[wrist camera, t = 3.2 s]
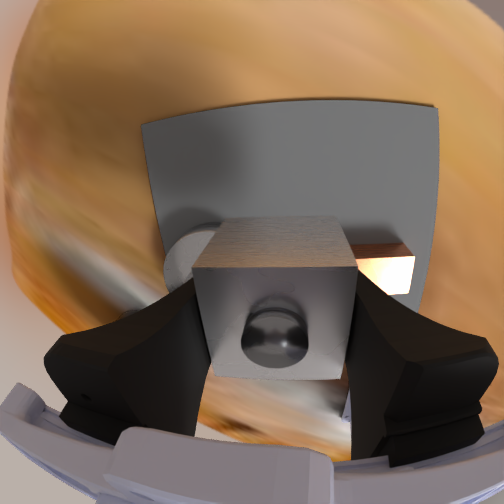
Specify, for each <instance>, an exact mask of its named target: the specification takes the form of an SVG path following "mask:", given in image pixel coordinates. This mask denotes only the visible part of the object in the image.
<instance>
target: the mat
mask: <svg viewBox="0 0 504 504" xmlns="http://www.w3.org/2000/svg"><path fill="white" fill-rule="evenodd" d="M141 129H142V136H143V143H144V149H145V156H146V162H147V168H148V174H149V179H150V185H151V190H152V195H153V200H154V205H155V210H156V215H157V220H158V224H159V229H160V233H161V238H162V242H163V246H164V250H165V254H166V256H167V254H168V252H169V251H170V249H171V248H172V247H173V246H174V244H175V243H176V242H177V241H178V240H179V239H180V238H181V237H182V235H183V234H184V233H186V232H187V231H188V230H189V229H191V228H193V227H195V226H197V225H200V224H203V223H209V222H219V223H223V221H224V220H225V218H238V217H272V216H336V217H337V219H338V221H339V224H340V226H341V228H342V230H343V232H344V234H345V237H346V239H347V241H348V243H349V245H357V244H383V243H404V244H405V245H406V246H407V248H408V249H409V250H410V251H411V252H412V254H413V255H414V256H415V258H414V264H413V270H412V276H411V281H410V286H409V291H408V293H403V294H390V296H391V297H393V298H394V299H396V300H397V301H398V302H400V303H401V304H403V305H405V306H406V307H408V308H410V309H411V310H413V311H415V312H416V313H418V310H419V306H420V302H421V298H422V294H423V289H424V285H425V280H426V275H427V270H428V265H429V260H430V254H431V248H432V241H433V234H434V227H435V218H436V208H437V197H438V182H439V117H438V108H433V107H426V106H419V105H410V104H401V103H390V102H376V101H355V100H309V101H287V102H273V103H262V104H252V105H243V106H235V107H227V108H221V109H214V110H208V111H202V112H196V113H191V114H186V115H181V116H176V117H171V118H167V119H162V120H158V121H154V122H150V123H146V124H142V125H141Z"/></svg>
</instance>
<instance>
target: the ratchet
mask: <svg viewBox="0 0 504 504" xmlns="http://www.w3.org/2000/svg"><path fill="white" fill-rule="evenodd" d="M221 224H222V223H219V222H209V223H203V224H200V225H197V226H195V227H193V228H191V229H189V230H188V231H187V232H186V233H184V234H183V235H182V237H181V238H180V239H179V240H178V241H177V242H176V243H175V244H174V246H173V247H172V248H171V249H170V251H169V252H168V254H167V256H166V259H165V262H164V270H163V272H164V280H165V283H166V286H167V289H168V291H169V293H171V292H172V291H174V290H175V289H177V288H178V287H180V286H181V285H183V284H184V283H185V282H187V281H188V280H190V279H191V278H192V277H193V273H192V268H191V267H192V266H193V264H194V263H195V261H196V260H197V258H198V257H199V255H200V254H201V253H202V251H203V250H204V248H205V247H206V245H207V244H208V242H209V241H210V240H211V238H212V237H213V235H214V234H215V232H216V231H217V230H218V228H219V227H220V225H221ZM350 248H351V250H352V252H353V255H354V257H355V259H356V262H357V264H358V269H359V270H360V271H361V272H362V273H363V274H364V275H366V276H367V277H368V278H369V279H370V280H371V281H372V282H374V283H375V284H376V285H377V286H378V287H380V288H381V289H382V290H383V291H385V292H386V293H387V294H389V295H390V294H403V293H408V291H409V286H410V281H411V276H412V270H413V264H414V258H415V256H414V255H413V254H412V252H411V251H410V250H409V249H408V248H407V246H406V245H405V244H404V243H383V244H357V245H350Z"/></svg>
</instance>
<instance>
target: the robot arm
mask: <svg viewBox="0 0 504 504" xmlns="http://www.w3.org/2000/svg"><path fill="white" fill-rule="evenodd" d="M345 363H346V367H347V372H348V379H349V392H348V396H347V400H346V404H345V408H344V412H343V415H342V422H344V423H346V422H350V428H351V461H340V462H332V461H331V459H330V457H328V456H327V455H325V454H323V453H320V452H317V451H314V450H312V449H309V448H304V447H293V446H284V445H268V444H250V443H238V442H227V441H219V440H212V439H205V438H198V437H194V436H195V430H196V423H197V417H198V412H199V407H200V402H201V397H202V393H203V388H204V384H205V379H206V376H207V373H208V370H209V367H210V364H211V357H210V353H209V348H208V344H207V340H206V336H205V331H204V327H203V322H202V318H201V313H200V308H199V304H198V299H197V294H196V289H195V284H194V279H193V277H192V278H191V279H190V280H188V281H187V282H185V283H184V284H183V285H181V286H180V287H178V288H177V289H175V290H174V291H172V292H171V293H169V294H168V295H166V296H165V297H163V298H162V299H160V300H158V301H157V302H155V303H153V304H152V305H150V306H148V307H146V308H144V309H142V310H140V311H138V312H136V313H134V314H132V315H129V316H127V317H125V318H122V319H120V320H117V321H115V322H112V323H109V324H106V325H103V326H100V327H97V328H93V329H89V330H85V331H81V332H76V333H71V334H66V335H62V336H61V337H60V338H59V339H58V340H57V341H56V343H55V344H54V345H53V346H52V347H51V349H50V350H49V351H48V352H47V353H46V355H45V356H44V366H45V368H46V371H47V373H48V374H49V376H50V378H51V379H52V381H53V382H54V383H55V385H56V386H57V387H58V389H59V390H60V391H61V393H62V394H63V395H64V397H65V398H66V399H67V400H68V402H67V404H66V405H65V407H64V409H63V410H62V412H59V411H57V410H55V409H53V408H51V407H49V406H47V405H46V404H45V402H44V401H43V400H42V398H41V397H40V396H39V395H38V394H37V393H36V392H35V391H33V390H32V389H30V388H28V387H26V386H24V385H23V384H21V383H17V384H16V385H15V386H14V388H13V389H12V390H11V392H10V393H9V395H8V396H7V397H6V399H5V400H4V402H3V403H2V404H1V406H0V434H1V435H2V436H3V437H4V438H5V439H6V440H8V441H9V442H10V443H11V444H12V445H13V446H14V447H15V448H17V449H18V450H19V451H20V452H21V453H22V454H24V455H25V456H26V457H27V458H28V459H30V460H31V461H33V462H34V463H35V464H37V465H38V466H40V467H41V468H43V469H44V470H46V471H47V472H48V473H50V474H52V475H53V476H55V477H56V478H58V479H59V480H61V481H63V482H65V483H66V484H68V485H69V486H71V487H73V488H74V489H76V490H78V491H80V492H81V493H83V494H85V495H87V496H89V497H91V498H93V499H95V500H97V501H96V504H477V503H479V502H481V501H483V500H485V499H487V498H489V497H491V496H492V495H494V494H496V493H498V492H500V491H501V490H503V489H504V420H502V421H499V422H497V423H495V424H493V425H490V426H488V427H485V428H483V426H482V423H481V420H480V418H479V415H478V414H480V413H481V411H482V407H481V404H480V402H479V400H480V399H481V397H482V396H483V394H484V393H485V391H486V390H487V388H488V387H489V385H490V384H491V382H492V381H493V379H494V377H495V375H496V373H497V369H498V365H499V362H498V357H497V356H496V354H495V352H494V351H493V349H492V347H491V346H490V344H489V342H488V341H487V339H486V338H484V337H480V336H476V335H472V334H468V333H465V332H461V331H458V330H455V329H452V328H450V327H447V326H444V325H442V324H439V323H437V322H435V321H432V320H430V319H428V318H426V317H424V316H422V315H420V314H418V313H416V312H415V311H413V310H411V309H410V308H408V307H406V306H405V305H403V304H401V303H400V302H398V301H397V300H396V299H394V298H393V297H391V296H390V295H389V294H387V293H386V292H385V291H383V290H382V289H381V288H380V287H378V286H377V285H376V284H375V283H374V282H372V281H371V280H370V279H369V278H368V277H367V276H366V275H364V274H363V273H362V272H361V271H360V270H359V269H358V275H357V284H356V292H355V299H354V306H353V313H352V320H351V326H350V332H349V338H348V343H347V349H346V354H345Z"/></svg>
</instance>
